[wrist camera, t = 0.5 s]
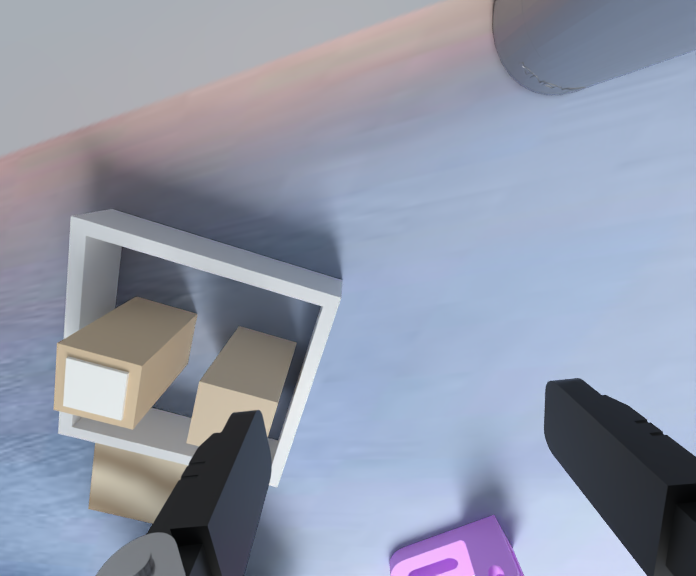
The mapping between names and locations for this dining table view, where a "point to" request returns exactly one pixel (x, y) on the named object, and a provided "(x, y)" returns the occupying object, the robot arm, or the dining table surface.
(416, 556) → the bracket
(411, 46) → the dining table surface
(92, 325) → the labelled box
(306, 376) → the bin
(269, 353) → the plain box
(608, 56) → the robot arm
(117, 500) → the board
